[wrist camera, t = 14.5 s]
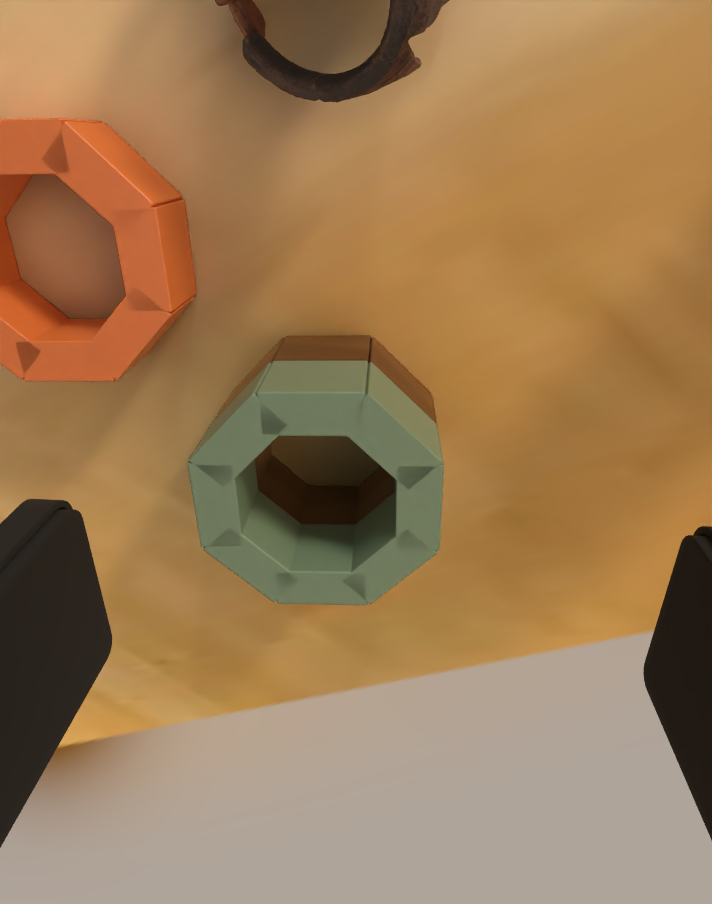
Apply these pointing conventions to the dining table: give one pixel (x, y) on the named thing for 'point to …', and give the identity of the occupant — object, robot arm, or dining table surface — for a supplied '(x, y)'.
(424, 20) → the brown knot
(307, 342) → the ring bottom
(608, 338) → the dining table surface
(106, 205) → the ring top
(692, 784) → the robot arm
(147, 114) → the dining table surface
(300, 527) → the ring middle
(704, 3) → the dining table surface
